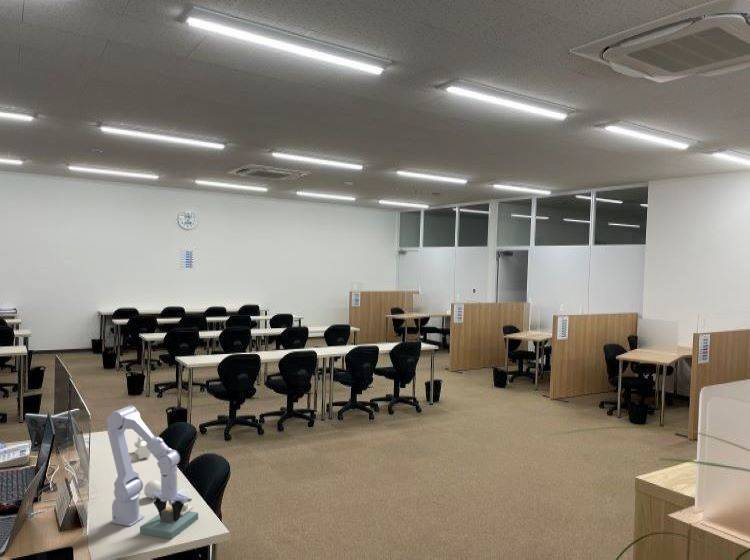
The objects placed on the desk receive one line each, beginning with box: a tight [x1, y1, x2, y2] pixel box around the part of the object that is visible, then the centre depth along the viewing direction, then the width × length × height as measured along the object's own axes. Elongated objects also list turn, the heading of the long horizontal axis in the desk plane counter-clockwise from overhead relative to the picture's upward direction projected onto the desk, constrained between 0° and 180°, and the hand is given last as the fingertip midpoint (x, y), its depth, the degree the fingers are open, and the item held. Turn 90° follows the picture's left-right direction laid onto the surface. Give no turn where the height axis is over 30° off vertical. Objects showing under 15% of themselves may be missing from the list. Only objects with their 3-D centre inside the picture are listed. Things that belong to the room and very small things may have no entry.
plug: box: [161, 506, 175, 524], centre depth 206 cm, size 4×4×7 cm
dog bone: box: [134, 436, 152, 460], centre depth 281 cm, size 15×9×8 cm, turn 25°
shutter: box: [180, 503, 194, 516], centre depth 213 cm, size 6×6×3 cm
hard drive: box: [170, 487, 193, 505], centre depth 232 cm, size 2×8×12 cm
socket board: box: [139, 510, 199, 540], centre depth 207 cm, size 14×16×2 cm
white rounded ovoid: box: [143, 479, 161, 499], centre depth 233 cm, size 10×7×7 cm
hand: (169, 518), depth 207 cm, fingers open, 6 cm apart
